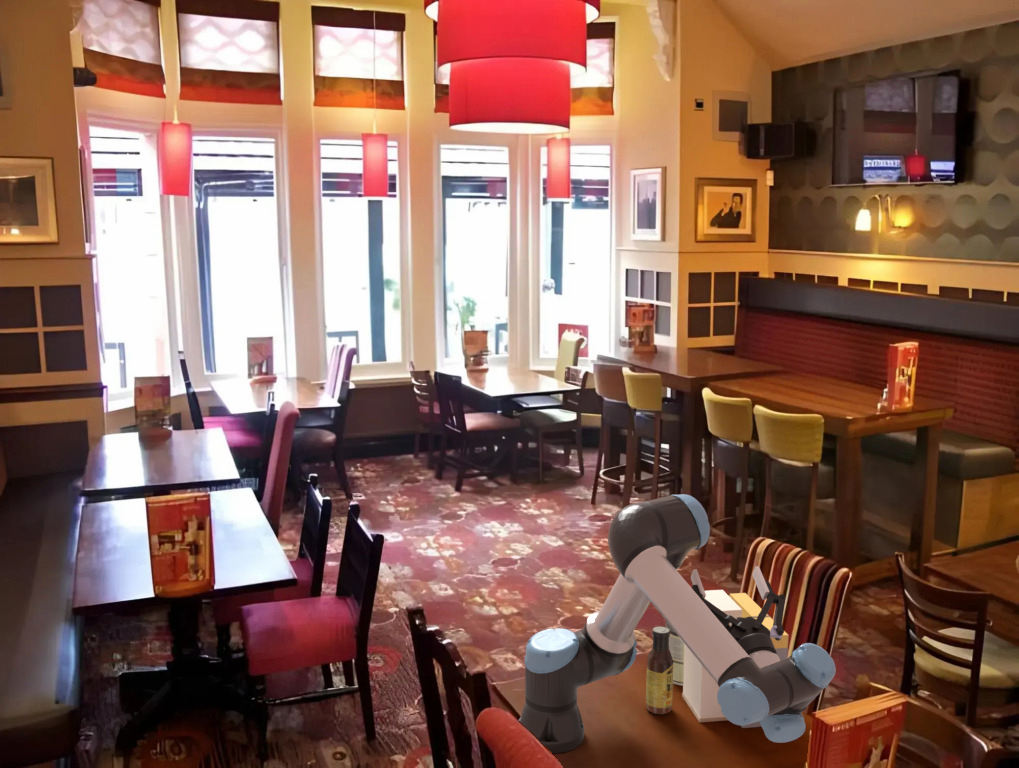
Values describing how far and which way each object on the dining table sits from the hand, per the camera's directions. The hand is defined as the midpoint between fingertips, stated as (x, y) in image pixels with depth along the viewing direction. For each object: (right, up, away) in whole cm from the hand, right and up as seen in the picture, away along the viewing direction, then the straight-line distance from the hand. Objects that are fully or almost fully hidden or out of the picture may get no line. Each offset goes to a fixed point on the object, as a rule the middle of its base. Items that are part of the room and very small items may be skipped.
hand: (724, 571), depth 193 cm
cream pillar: (+3, -38, +28) cm, 47 cm away
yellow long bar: (+13, -17, +22) cm, 30 cm away
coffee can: (0, -36, +43) cm, 56 cm away
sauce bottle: (-9, -38, +27) cm, 48 cm away
